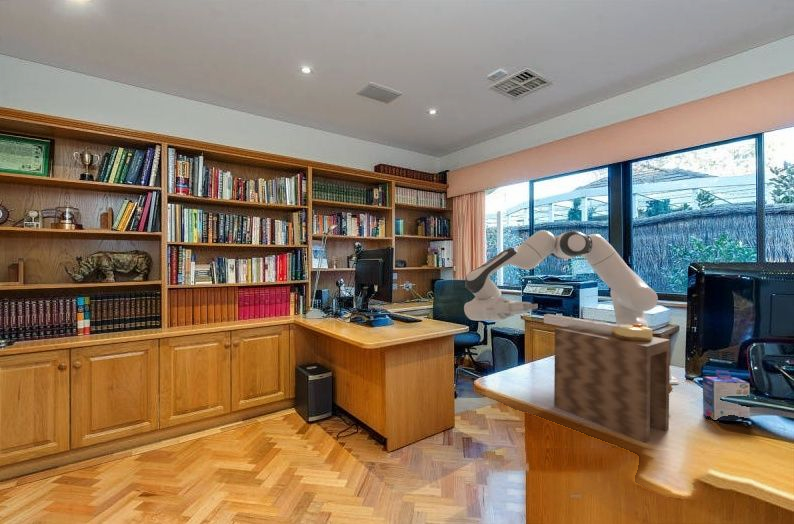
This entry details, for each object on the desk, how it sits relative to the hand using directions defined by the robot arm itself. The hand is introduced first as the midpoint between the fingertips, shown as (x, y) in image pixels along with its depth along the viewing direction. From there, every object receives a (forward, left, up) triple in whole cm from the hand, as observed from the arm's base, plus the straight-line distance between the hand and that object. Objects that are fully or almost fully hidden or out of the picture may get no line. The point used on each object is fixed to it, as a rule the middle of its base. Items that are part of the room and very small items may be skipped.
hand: (530, 306), depth 132 cm
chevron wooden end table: (-20, +19, -31) cm, 42 cm away
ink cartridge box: (-55, +12, -31) cm, 65 cm away
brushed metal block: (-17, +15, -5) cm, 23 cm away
